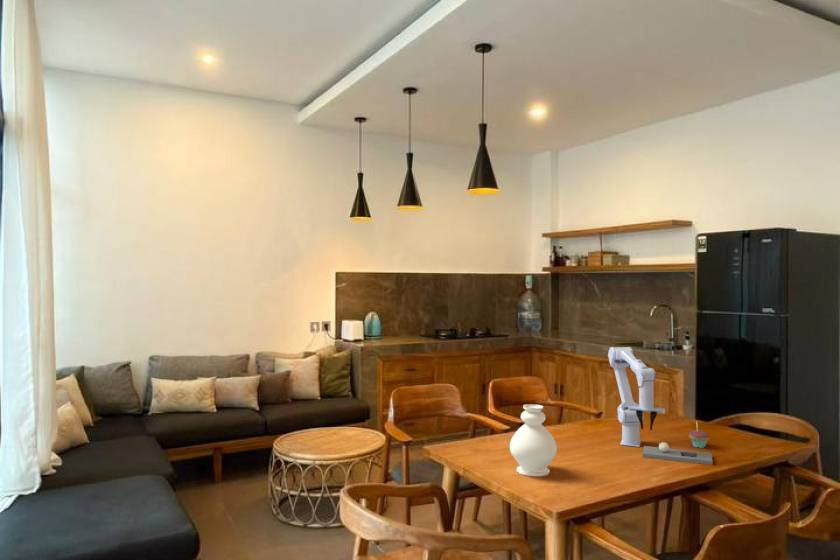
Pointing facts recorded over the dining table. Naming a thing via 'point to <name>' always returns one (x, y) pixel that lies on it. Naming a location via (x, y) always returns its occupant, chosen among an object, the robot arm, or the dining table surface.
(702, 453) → the board
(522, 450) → the decorative vase
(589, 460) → the dining table surface
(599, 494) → the dining table surface
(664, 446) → the ball
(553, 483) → the dining table surface
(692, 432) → the cupcake
